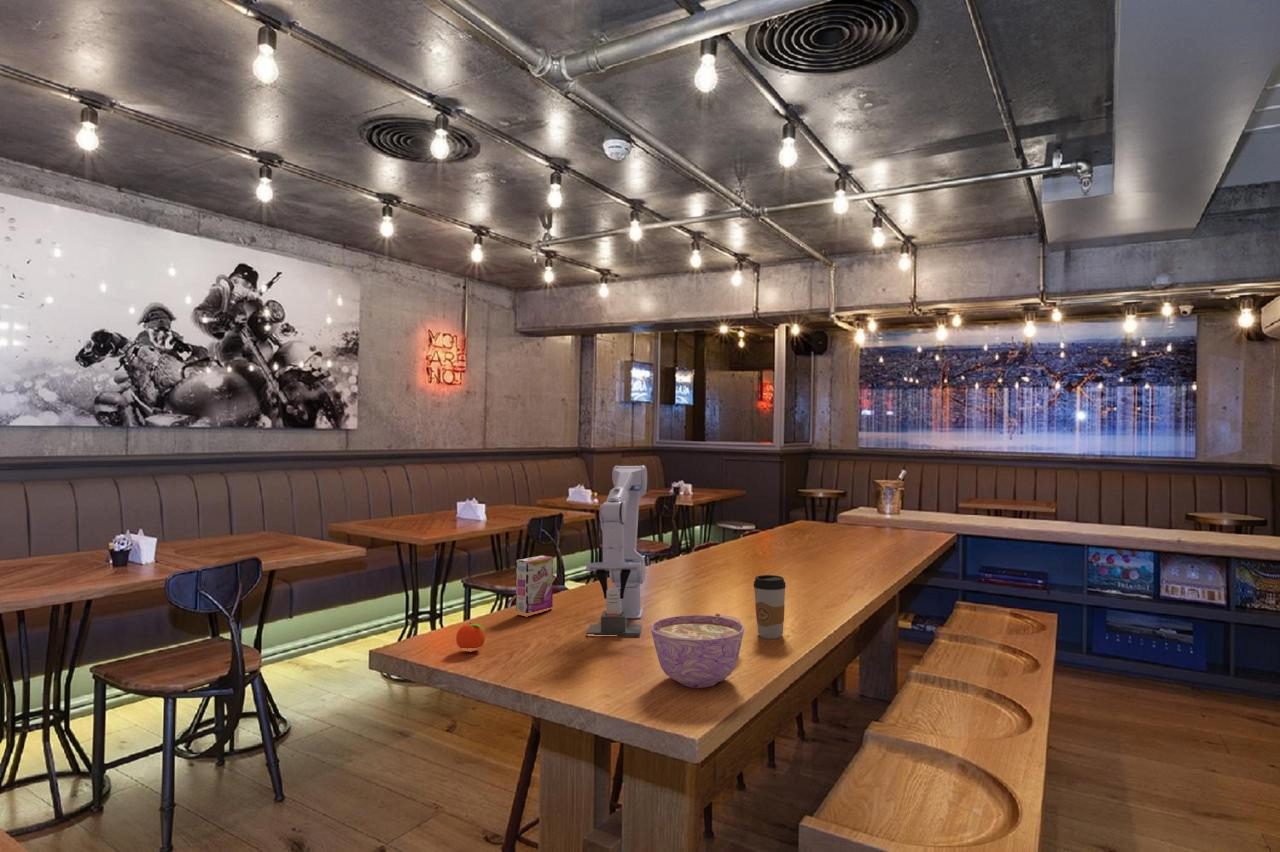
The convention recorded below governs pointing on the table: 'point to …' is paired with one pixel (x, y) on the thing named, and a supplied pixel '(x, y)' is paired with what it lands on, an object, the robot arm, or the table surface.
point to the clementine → (470, 636)
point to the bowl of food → (697, 648)
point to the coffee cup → (769, 605)
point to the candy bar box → (534, 584)
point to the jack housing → (615, 626)
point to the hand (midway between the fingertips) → (614, 597)
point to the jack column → (614, 601)
